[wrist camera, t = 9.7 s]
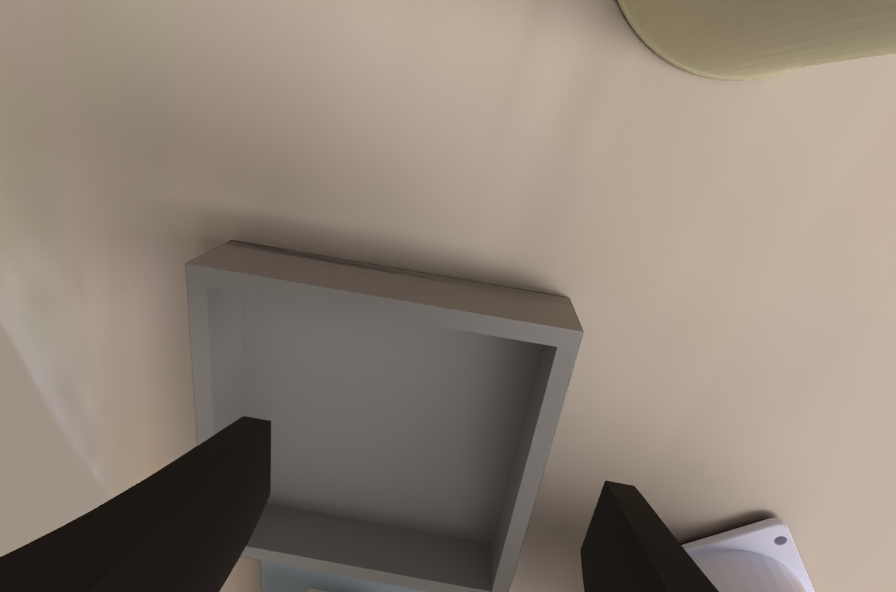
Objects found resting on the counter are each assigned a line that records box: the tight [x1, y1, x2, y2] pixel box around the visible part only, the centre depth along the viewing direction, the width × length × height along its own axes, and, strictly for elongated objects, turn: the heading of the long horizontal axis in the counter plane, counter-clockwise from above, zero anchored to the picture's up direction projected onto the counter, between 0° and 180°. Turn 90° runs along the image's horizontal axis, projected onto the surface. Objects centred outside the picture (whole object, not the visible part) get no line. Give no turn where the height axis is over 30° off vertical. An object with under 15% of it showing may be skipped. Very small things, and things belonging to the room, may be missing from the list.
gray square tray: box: [185, 240, 583, 592], centre depth 20 cm, size 13×13×3 cm
